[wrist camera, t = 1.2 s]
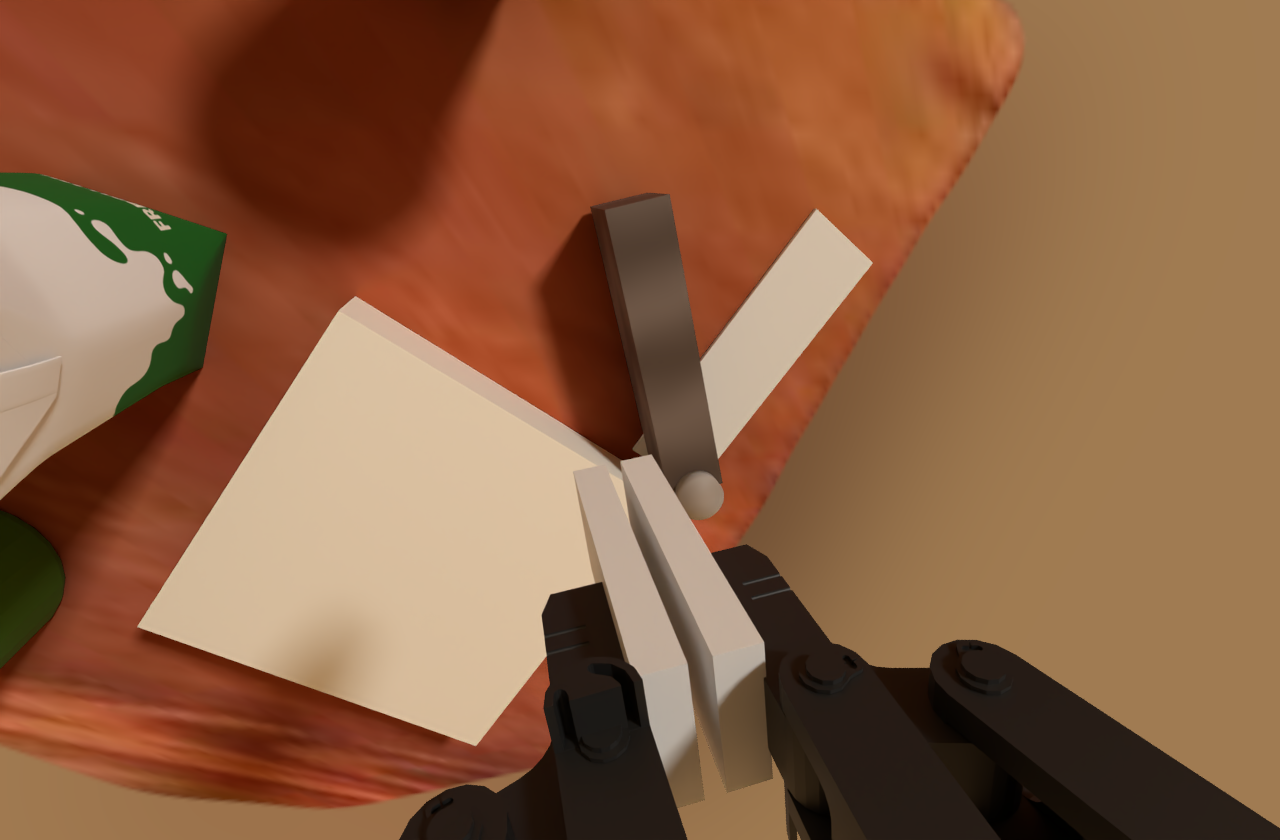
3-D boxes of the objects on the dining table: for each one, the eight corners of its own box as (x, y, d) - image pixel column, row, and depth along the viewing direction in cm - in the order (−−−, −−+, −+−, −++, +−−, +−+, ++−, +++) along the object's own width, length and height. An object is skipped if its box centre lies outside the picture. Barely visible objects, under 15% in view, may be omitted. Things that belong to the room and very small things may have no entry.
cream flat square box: (172, 581, 36) (137, 626, 32) (355, 296, 33) (338, 310, 29) (476, 698, 43) (475, 746, 40) (648, 476, 40) (664, 505, 37)
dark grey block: (701, 469, 40) (732, 510, 35) (655, 484, 40) (678, 527, 35) (647, 192, 34) (675, 194, 29) (590, 206, 33) (608, 211, 28)
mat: (632, 448, 39) (633, 450, 39) (814, 208, 36) (816, 209, 36) (693, 486, 41) (694, 488, 41) (870, 262, 38) (872, 262, 38)
